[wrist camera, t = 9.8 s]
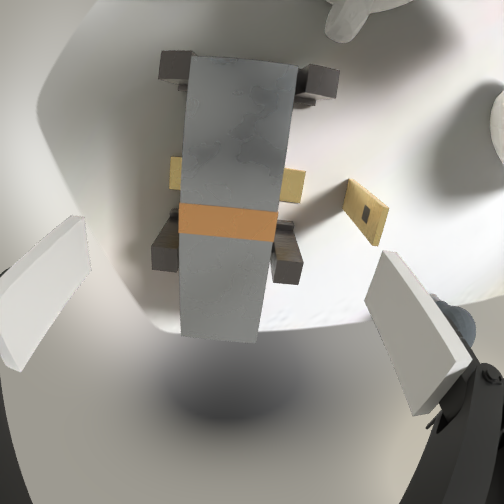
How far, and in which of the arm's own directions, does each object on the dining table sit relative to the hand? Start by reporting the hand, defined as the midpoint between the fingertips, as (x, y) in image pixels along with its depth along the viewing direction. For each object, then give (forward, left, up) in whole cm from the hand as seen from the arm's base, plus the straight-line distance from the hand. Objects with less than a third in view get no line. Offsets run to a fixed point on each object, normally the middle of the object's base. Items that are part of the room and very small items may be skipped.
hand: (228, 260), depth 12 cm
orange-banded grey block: (+1, 0, -15) cm, 15 cm away
